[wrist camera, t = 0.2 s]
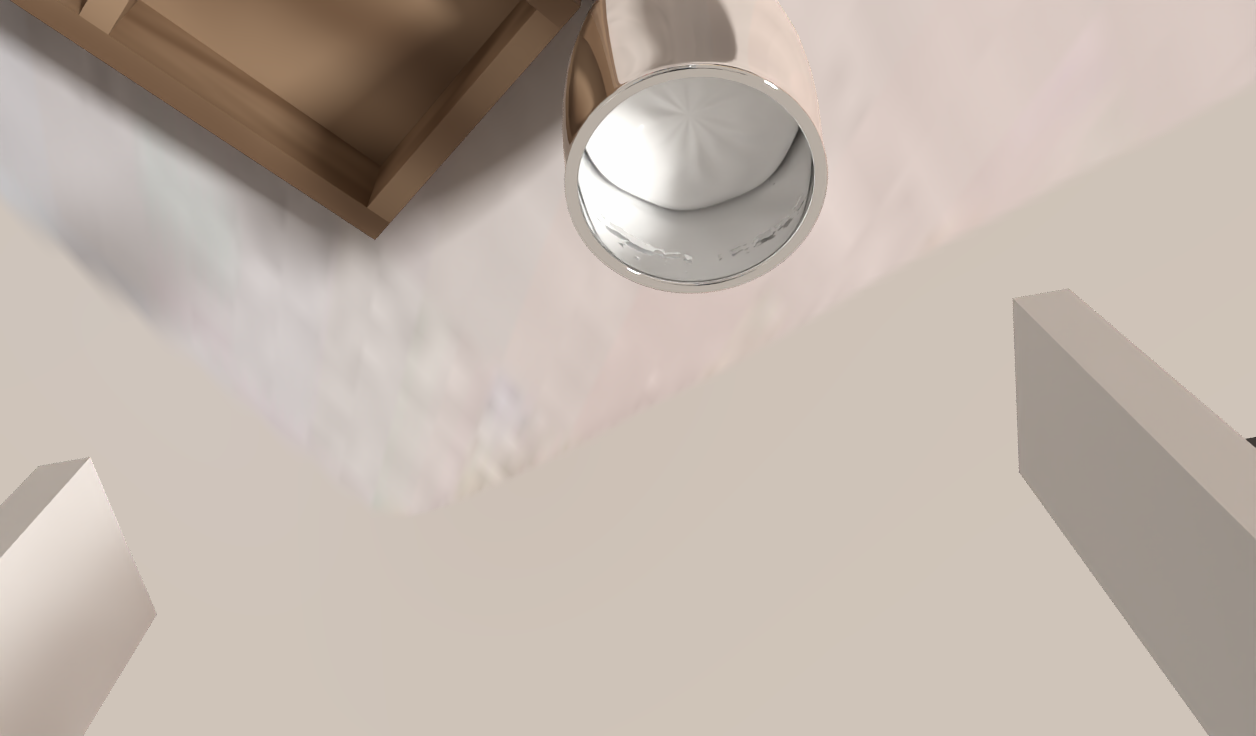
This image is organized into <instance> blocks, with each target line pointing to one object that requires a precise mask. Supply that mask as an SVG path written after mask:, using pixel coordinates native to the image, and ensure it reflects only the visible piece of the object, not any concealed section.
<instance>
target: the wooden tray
mask: <svg viewBox="0 0 1256 736" xmlns="http://www.w3.org/2000/svg"><path fill="white" fill-rule="evenodd" d="M10 1H12V2H13V3H15V4H16V5H18V6H19V7H21V8H22V9H24V10H25V11H27V12H28V13H30V14H31V15H33V16H35V17H36V18H38V19H39V20H41V21H42V22H44V23H45V24H47V25H48V26H50V27H51V28H53V29H54V30H56V31H57V32H59V33H60V34H62V35H63V36H65V37H67V38H68V39H70V40H71V41H73V42H74V43H76V44H77V45H79V46H80V47H82V48H83V49H85V50H86V51H88V52H89V53H91V54H92V55H94V56H95V57H97V58H99V59H100V60H102V61H103V62H105V63H106V64H108V65H109V66H111V67H112V68H114V69H115V70H117V71H118V72H120V73H121V74H123V75H124V76H126V77H127V78H129V79H131V80H132V81H134V82H135V83H137V84H138V85H140V86H141V87H143V88H144V89H146V90H147V91H149V92H150V93H152V94H153V95H155V96H156V97H158V98H159V99H161V100H163V101H164V102H166V103H167V104H169V105H170V106H172V107H173V108H175V109H176V110H178V111H179V112H181V113H182V114H184V115H185V116H187V117H188V118H190V119H191V120H193V121H195V122H196V123H198V124H199V125H201V126H202V127H204V128H205V129H207V130H208V131H210V132H211V133H213V134H214V135H216V136H217V137H219V138H220V139H222V140H223V141H225V142H227V143H228V144H230V145H231V146H233V147H234V148H236V149H237V150H239V151H240V152H242V153H243V154H245V155H246V156H248V157H249V158H251V159H252V160H254V161H255V162H257V163H259V164H260V165H262V166H263V167H265V168H266V169H268V170H269V171H271V172H272V173H274V174H275V175H277V176H278V177H280V178H281V179H283V180H284V181H286V182H288V183H289V184H291V185H292V186H294V187H295V188H297V189H298V190H300V191H301V192H303V193H304V194H306V195H307V196H309V197H310V198H312V199H313V200H315V201H316V202H318V203H320V204H321V205H323V206H324V207H326V208H327V209H329V210H330V211H332V212H333V213H335V214H336V215H338V216H339V217H341V218H342V219H344V220H345V221H347V222H348V223H350V224H352V225H353V226H355V227H356V228H358V229H359V230H361V231H362V232H364V233H365V234H367V235H368V236H370V237H371V238H373V239H374V240H375V239H376V238H377V237H378V236H379V235H380V234H381V232H382V231H383V230H384V229H385V228H386V227H387V226H388V225H389V223H390V222H391V221H392V220H393V219H394V218H395V217H396V215H397V214H398V213H399V212H400V211H401V210H402V209H403V208H404V206H405V205H406V204H407V203H408V202H409V201H410V200H411V198H412V197H413V196H414V195H415V194H416V193H417V192H418V191H419V189H420V188H421V187H422V186H423V185H424V184H425V183H426V181H427V180H428V179H429V178H430V177H431V176H432V175H433V174H434V172H435V171H436V170H437V169H438V168H439V167H440V166H441V164H442V163H443V162H444V161H445V160H446V159H447V158H448V157H449V155H450V154H451V153H452V152H453V151H454V150H455V149H456V147H457V146H458V145H459V144H460V143H461V142H462V141H463V140H464V138H465V137H466V136H467V135H468V134H469V133H470V132H471V130H472V129H473V128H474V127H475V126H476V125H477V124H478V123H479V121H480V120H481V119H482V118H483V117H484V116H485V115H486V113H487V112H488V111H489V110H490V109H491V108H492V107H493V106H494V104H495V103H496V102H497V101H498V100H499V99H500V98H501V96H502V95H503V94H504V93H505V92H506V91H507V90H508V89H509V87H510V86H511V85H512V84H513V83H514V82H515V81H516V79H517V78H518V77H519V76H520V75H521V74H522V73H523V72H524V70H525V69H526V68H527V67H528V66H529V65H530V64H531V62H532V61H533V60H534V59H535V58H536V57H537V56H538V55H539V53H540V52H541V51H542V50H543V49H544V48H545V47H546V45H547V44H548V43H549V42H550V41H551V40H552V39H553V38H554V36H555V35H556V34H557V33H558V32H559V31H560V30H561V28H562V27H563V26H564V25H565V24H566V23H567V22H568V21H569V19H570V18H571V17H572V16H573V15H574V14H575V13H576V11H577V10H578V9H579V8H580V5H581V0H10Z"/></svg>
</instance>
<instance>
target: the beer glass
mask: <svg viewBox="0 0 1256 736" xmlns="http://www.w3.org/2000/svg"><path fill="white" fill-rule="evenodd" d="M562 137H563V154H564V164H565V179H564V187H565V197H566V203H567V208H568V211H569V214H570V217H571V220H572V222H573V225H574V227H575V229H576V231H577V232H578V234H579V236H580V237H581V239H582V241H583V242H584V243H585V245H586V246H587V247H588V248H589V250H590V251H591V252H592V253H593V254H594V255H595V256H596V257H597V258H598V259H599V260H600V261H601V262H602V263H604V264H605V265H606V266H607V267H609V268H610V269H611V270H613V271H614V272H616V273H618V274H619V275H621V276H623V277H625V278H626V279H629V280H631V281H633V282H635V283H638V284H640V285H643V286H646V287H649V288H653V289H657V290H661V291H667V292H674V293H708V292H715V291H721V290H725V289H729V288H733V287H736V286H739V285H742V284H745V283H747V282H750V281H752V280H754V279H756V278H758V277H760V276H762V275H764V274H766V273H768V272H769V271H771V270H772V269H774V268H775V267H777V266H778V265H779V264H781V263H782V262H783V261H785V260H786V259H787V258H788V257H789V256H790V255H791V254H792V253H793V252H794V251H795V250H796V249H797V248H798V247H799V246H800V245H801V244H802V243H803V241H804V240H805V239H806V237H807V236H808V235H809V233H810V232H811V230H812V228H813V227H814V225H815V223H816V221H817V219H818V217H819V214H820V212H821V209H822V207H823V203H824V200H825V196H826V190H827V183H828V164H827V156H826V151H825V147H824V144H823V136H822V126H821V118H820V111H819V103H818V98H817V93H816V89H815V84H814V80H813V75H812V71H811V68H810V65H809V62H808V59H807V56H806V54H805V51H804V48H803V46H802V43H801V40H800V38H799V36H798V33H797V31H796V29H795V28H794V26H793V24H792V22H791V21H790V19H789V18H788V16H787V15H786V13H785V11H784V10H783V8H782V7H781V5H780V4H779V2H778V1H777V0H594V2H593V4H592V6H591V8H590V10H589V12H588V14H587V16H586V17H585V19H584V21H583V24H582V26H581V28H580V31H579V33H578V36H577V39H576V41H575V44H574V47H573V49H572V52H571V56H570V59H569V63H568V69H567V75H566V81H565V87H564V94H563V113H562Z"/></svg>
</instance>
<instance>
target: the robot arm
mask: <svg viewBox="0 0 1256 736" xmlns="http://www.w3.org/2000/svg"><path fill="white" fill-rule="evenodd" d="M1013 321H1014V348H1015V372H1016V402H1017V427H1018V454H1019V473H1020V474H1021V475H1022V477H1023V478H1024V480H1025V481H1026V482H1027V484H1028V485H1029V486H1030V488H1031V489H1032V491H1033V492H1034V493H1035V495H1036V496H1037V497H1038V499H1039V500H1040V502H1041V503H1042V505H1043V506H1044V507H1045V509H1046V510H1047V511H1048V513H1049V514H1050V516H1051V517H1052V518H1053V520H1054V521H1055V523H1056V524H1057V525H1058V527H1059V528H1060V530H1061V531H1062V532H1063V534H1064V535H1065V537H1066V538H1067V539H1068V541H1069V542H1070V543H1071V545H1072V546H1073V548H1074V549H1075V550H1076V552H1077V553H1078V555H1079V556H1080V557H1081V559H1082V560H1083V561H1084V563H1085V564H1086V566H1087V567H1088V568H1089V570H1090V571H1091V572H1092V574H1093V575H1094V577H1095V578H1096V580H1097V581H1098V582H1099V584H1100V585H1101V586H1102V588H1103V589H1104V591H1105V592H1106V593H1107V595H1108V596H1109V598H1110V599H1111V600H1112V602H1113V603H1114V605H1115V606H1116V607H1117V609H1118V610H1119V611H1120V613H1121V614H1122V616H1123V617H1124V619H1125V620H1126V621H1127V622H1128V624H1129V625H1130V627H1131V628H1132V630H1133V631H1134V632H1135V634H1136V635H1137V636H1138V638H1139V639H1140V641H1141V642H1142V643H1143V645H1144V646H1145V648H1146V649H1147V650H1148V652H1149V653H1150V655H1151V656H1152V657H1153V659H1154V660H1155V661H1156V663H1157V664H1158V666H1159V667H1160V669H1161V670H1162V671H1163V673H1164V674H1165V675H1166V677H1167V678H1168V680H1169V681H1170V682H1171V684H1172V685H1173V687H1174V688H1175V689H1176V691H1177V692H1178V694H1179V695H1180V696H1181V698H1182V699H1183V700H1184V702H1185V703H1186V705H1187V706H1188V707H1189V709H1190V710H1191V711H1192V713H1193V714H1194V715H1195V717H1196V718H1197V720H1198V721H1199V723H1200V724H1201V725H1202V727H1203V728H1204V730H1205V731H1206V732H1207V734H1208V735H1209V736H1256V437H1254V438H1248V439H1244V438H1243V437H1242V436H1241V435H1240V434H1239V433H1238V432H1236V431H1235V430H1234V429H1233V428H1232V427H1230V426H1229V425H1228V424H1227V423H1226V422H1224V421H1223V420H1222V419H1221V418H1220V417H1219V416H1218V415H1216V414H1215V413H1214V412H1213V411H1212V410H1211V409H1209V408H1208V407H1207V406H1206V405H1204V403H1202V402H1201V401H1200V400H1199V399H1198V398H1196V397H1195V396H1194V395H1193V394H1192V393H1191V392H1189V391H1188V390H1187V389H1186V388H1185V387H1184V386H1182V385H1181V384H1180V383H1179V382H1178V381H1177V380H1175V379H1174V378H1173V377H1172V376H1171V375H1169V374H1168V373H1167V372H1166V371H1165V370H1164V369H1162V368H1161V367H1160V366H1159V365H1158V364H1157V363H1155V362H1154V361H1153V360H1152V359H1151V358H1150V357H1148V356H1147V355H1146V354H1145V353H1144V352H1142V351H1141V350H1140V349H1139V348H1138V347H1137V346H1135V345H1134V344H1133V343H1132V342H1131V341H1130V340H1128V339H1127V338H1126V337H1125V336H1124V335H1123V334H1121V333H1120V332H1119V331H1118V330H1117V329H1116V328H1114V327H1113V326H1112V325H1111V324H1109V322H1107V321H1106V320H1105V319H1104V318H1103V317H1102V316H1100V315H1099V314H1098V313H1097V312H1096V311H1094V310H1093V309H1092V308H1091V307H1090V306H1089V305H1087V304H1086V303H1085V302H1084V301H1083V300H1082V299H1080V298H1079V297H1078V296H1077V295H1076V294H1075V293H1073V292H1072V291H1071V290H1070V289H1064V290H1058V291H1052V292H1047V293H1040V294H1035V295H1029V296H1023V297H1018V298H1013ZM156 615H157V614H156V611H155V609H154V606H153V604H152V602H151V599H150V597H149V594H148V592H147V590H146V587H145V585H144V583H143V580H142V578H141V575H140V573H139V571H138V568H137V566H136V564H135V561H134V559H133V557H132V555H131V552H130V550H129V547H128V545H127V543H126V540H125V538H124V535H123V533H122V531H121V528H120V526H119V524H118V522H117V519H116V517H115V514H114V512H113V510H112V507H111V505H110V503H109V500H108V498H107V496H106V493H105V491H104V488H103V486H102V484H101V481H100V479H99V477H98V475H97V472H96V470H95V467H94V465H93V463H92V460H91V458H90V457H88V458H82V459H77V460H71V461H65V462H59V463H53V464H48V465H42V466H38V467H37V468H36V469H35V470H34V471H33V473H31V474H30V476H29V477H28V478H27V479H26V480H25V481H24V482H23V483H22V484H21V485H20V486H19V487H18V488H17V489H16V490H15V491H14V492H13V493H12V494H11V495H10V496H9V497H8V498H7V499H6V500H5V502H3V503H2V505H1V506H0V736H83V735H84V734H85V732H86V730H87V729H88V727H89V725H90V724H91V722H92V720H93V719H94V717H95V716H96V714H97V712H98V711H99V709H100V707H101V706H102V704H103V702H104V701H105V699H106V697H107V696H108V694H109V692H110V691H111V689H112V687H113V686H114V684H115V683H116V681H117V679H118V678H119V676H120V674H121V673H122V671H123V669H124V668H125V666H126V664H127V663H128V661H129V659H130V658H131V656H132V655H133V653H134V651H135V649H136V648H137V646H138V645H139V643H140V641H141V640H142V638H143V636H144V635H145V633H146V631H147V630H148V628H149V627H150V625H151V623H152V621H153V620H154V618H155V616H156Z"/></svg>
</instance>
